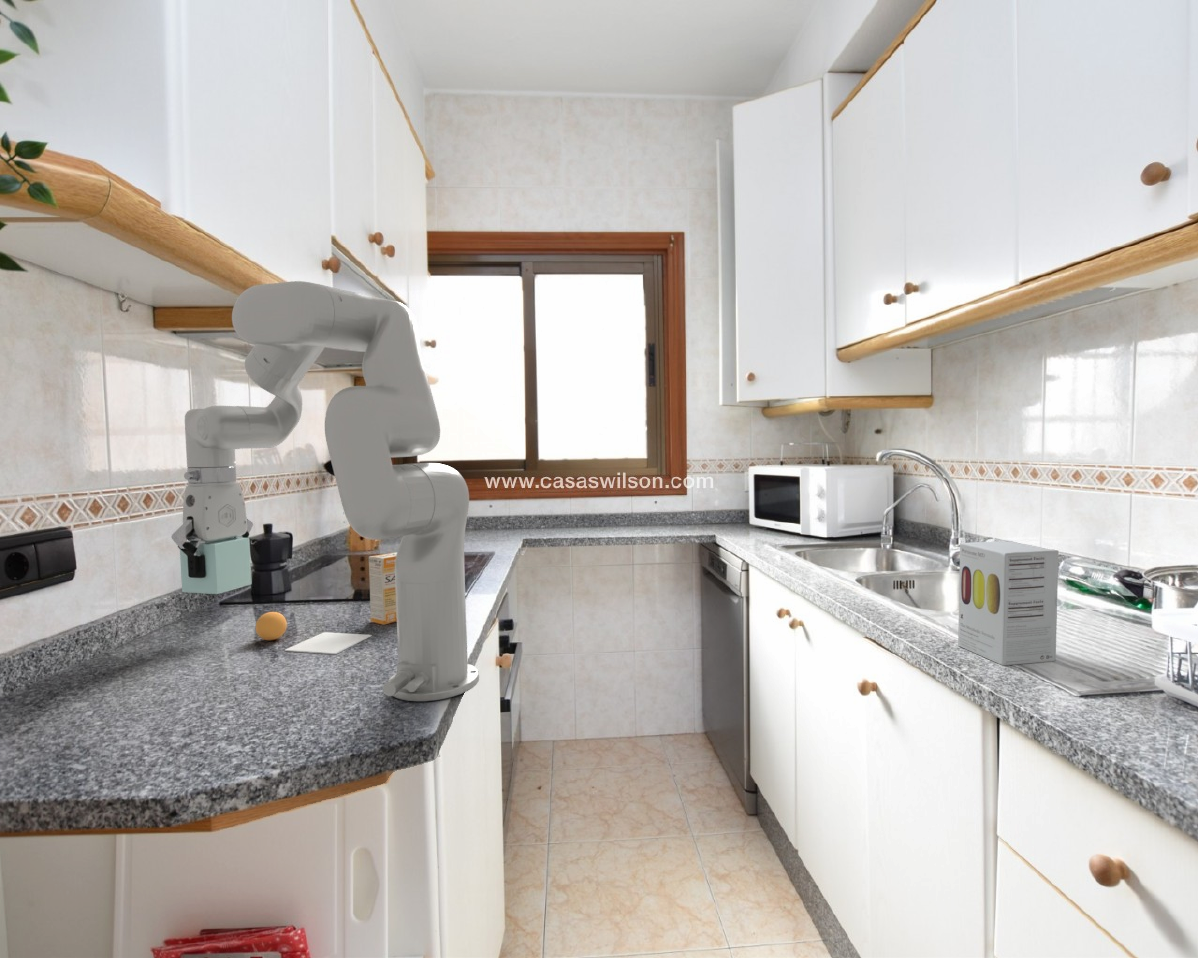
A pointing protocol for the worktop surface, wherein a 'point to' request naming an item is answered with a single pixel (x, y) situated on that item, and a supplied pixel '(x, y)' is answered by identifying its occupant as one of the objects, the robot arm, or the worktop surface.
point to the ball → (271, 626)
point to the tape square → (328, 643)
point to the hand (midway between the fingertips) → (217, 571)
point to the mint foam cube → (220, 567)
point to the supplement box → (382, 588)
